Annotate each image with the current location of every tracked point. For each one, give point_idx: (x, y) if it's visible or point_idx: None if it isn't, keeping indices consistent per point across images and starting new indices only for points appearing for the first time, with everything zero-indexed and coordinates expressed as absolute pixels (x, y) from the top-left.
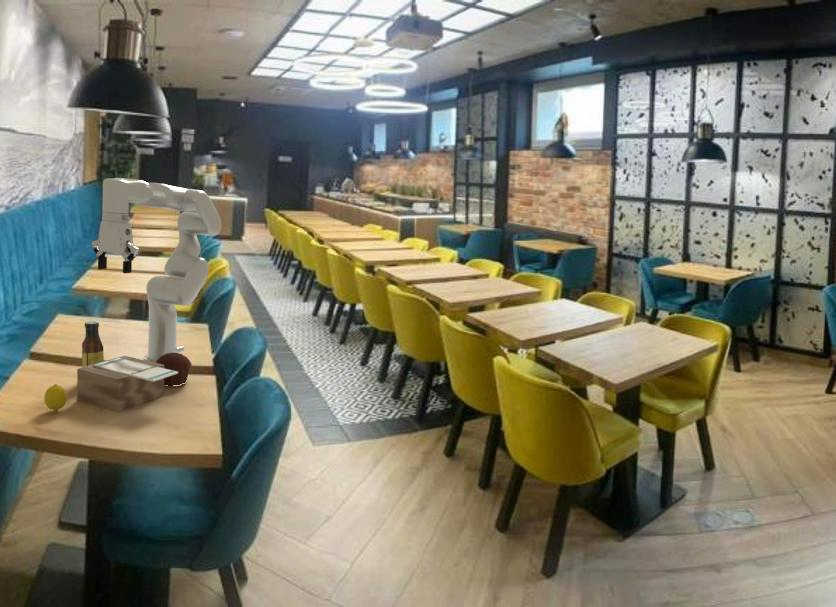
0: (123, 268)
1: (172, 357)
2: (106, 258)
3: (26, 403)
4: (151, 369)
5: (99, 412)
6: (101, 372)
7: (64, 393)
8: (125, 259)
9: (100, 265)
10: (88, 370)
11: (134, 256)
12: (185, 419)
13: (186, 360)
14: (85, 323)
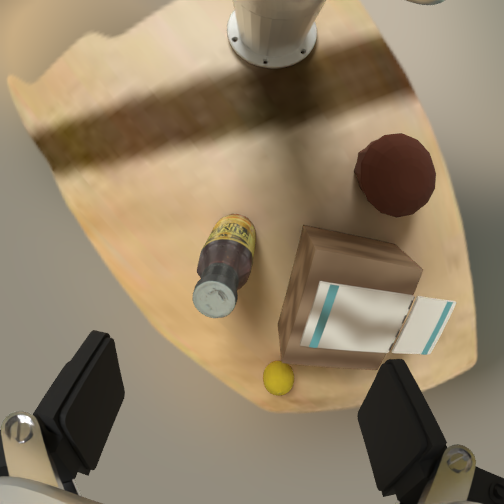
0: (371, 444)
1: (415, 200)
2: (71, 413)
3: (218, 355)
4: (413, 315)
5: None
6: (334, 360)
7: (293, 381)
8: (404, 500)
9: (115, 415)
10: (306, 362)
11: (489, 490)
12: None
13: (434, 180)
14: (205, 315)
